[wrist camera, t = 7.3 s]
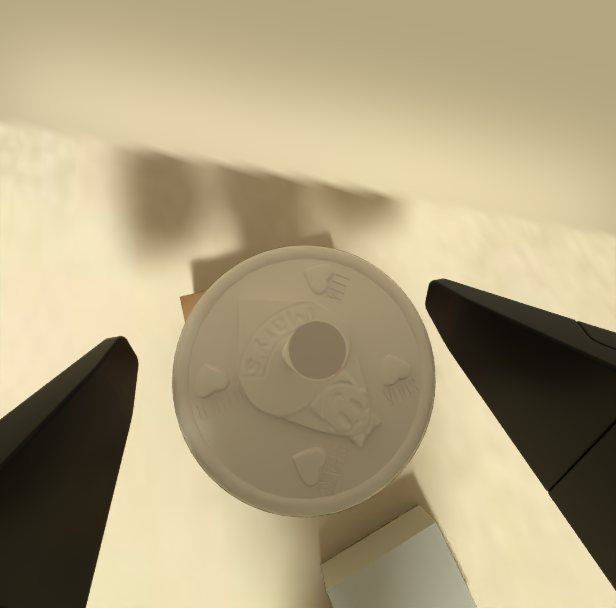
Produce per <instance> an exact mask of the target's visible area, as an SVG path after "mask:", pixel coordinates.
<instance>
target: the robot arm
mask: <svg viewBox="0 0 616 608" xmlns="http://www.w3.org/2000/svg"><path fill="white" fill-rule="evenodd" d="M425 306H426V310H427V312H428V313H429V315H430V317H431V319H432V321H433V323H434V324H435V326H436V328H437V330H438V332H439V334H440V336H441V337H442V339H443V341H444V343H445V344H446V346H447V348H448V349H449V351H450V352H451V354H452V355H453V357H454V358H455V360H456V361H457V363H458V364H459V366H460V367H461V368H462V370H463V371H464V373H465V374H466V376H467V377H468V378H469V380H470V381H471V383H472V384H473V386H474V387H475V389H476V390H477V391H478V393H479V394H480V396H481V397H482V399H483V400H484V401H485V403H486V404H487V406H488V407H489V409H490V410H491V412H492V413H493V414H494V416H495V417H496V419H497V420H498V422H499V423H500V424H501V426H502V427H503V429H504V430H505V432H506V433H507V435H508V436H509V437H510V439H511V440H512V442H513V443H514V445H515V446H516V448H517V449H518V450H519V452H520V453H521V455H522V456H523V458H524V459H525V460H526V462H527V463H528V465H529V466H530V468H531V469H532V471H533V472H534V473H535V475H536V476H537V478H538V479H539V481H540V482H541V483H542V485H543V486H544V488H545V489H546V491H548V494H549V495H550V497H551V498H552V500H553V501H554V502H555V504H556V505H557V507H558V508H559V510H560V511H561V513H562V514H563V515H564V517H565V518H566V520H567V521H568V523H569V524H570V525H571V527H572V528H573V530H574V531H575V533H576V534H577V536H578V537H579V538H580V540H581V541H582V543H583V544H584V546H585V547H586V548H587V550H588V551H589V553H590V554H591V556H592V557H593V559H594V560H595V561H596V563H597V564H598V566H599V567H600V569H601V570H602V572H603V573H604V574H605V576H606V577H607V579H608V580H609V582H610V583H611V584H612V586H613V587H614V589H615V590H616V333H615V332H612V331H609V330H605V329H602V328H599V327H596V326H592V325H589V324H586V323H583V322H580V321H577V322H576V321H575V320H573V319H570V318H567V317H564V316H561V315H558V314H555V313H551V312H548V311H545V310H542V309H539V308H536V307H532V306H529V305H526V304H523V303H520V302H517V301H514V300H510V299H507V298H504V297H501V296H498V295H495V294H492V293H488V292H485V291H482V290H479V289H476V288H473V287H470V286H466V285H463V284H460V283H457V282H454V281H451V280H447V279H438V280H433V281H431V282H430V283H429V286H428V291H427V296H426V301H425ZM137 373H138V358H137V356H136V354H135V352H134V351H133V349H132V347H131V346H130V344H129V342H128V341H127V339H126V338H125V337H123V336H118V337H112V338H107V339H105V340H104V341H102V342H101V343H100V344H98V345H97V346H96V347H95V348H93V349H92V350H91V351H89V352H88V353H87V354H85V355H84V356H83V357H81V358H80V359H79V360H77V361H76V362H75V363H74V364H72V365H71V366H70V367H68V368H67V369H66V370H64V371H63V372H62V373H60V374H59V375H58V376H57V377H55V378H54V379H53V380H51V381H50V382H49V383H47V384H46V385H45V386H43V387H42V388H41V389H39V390H38V391H37V392H36V393H34V394H33V395H32V396H30V397H29V398H28V399H26V400H25V401H24V402H22V403H21V404H20V405H19V406H17V407H16V408H15V409H13V410H12V411H11V412H9V413H8V414H7V415H5V416H4V417H3V418H1V419H0V608H86V605H87V601H88V596H89V592H90V588H91V584H92V580H93V576H94V572H95V568H96V563H97V559H98V555H99V551H100V547H101V543H102V539H103V535H104V531H105V526H106V522H107V518H108V514H109V510H110V506H111V502H112V498H113V493H114V489H115V485H116V481H117V477H118V473H119V469H120V465H121V461H122V456H123V452H124V448H125V444H126V440H127V436H128V432H129V428H130V423H131V419H132V414H133V407H134V399H135V390H136V382H137Z"/></svg>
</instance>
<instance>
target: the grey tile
mask: <svg viewBox="0 0 616 608" xmlns="http://www.w3.org/2000/svg"><path fill="white" fill-rule="evenodd" d="M321 567H322V572H323V577H324V582H325V587H326V592H327V594H328V596H329V599H330V601H331V604H332V606H333V608H477V606H476V604H475V602H474V600H473V598H472V596H471V594H470V592H469V589H468V587H467V585H466V583H465V581H464V579H463V577H462V575H461V573H460V571H459V569H458V567H457V565H456V562H455V560H454V558H453V556H452V554H451V552H450V550H449V548H448V546H447V544H446V542H445V540H444V538H443V535H442V533H441V531H440V529H439V527H438V525H437V523H436V521H435V520H434V519H433V518H432V517H431V516H430V515H429V514H428V513H427V512H426V511H425V510H424V509H423V508H422V507H421V506H420V504H419V505H417V506H416V507H414V508H413V509H411V510H409V511H408V512H406V513H404V514H403V515H401V516H399V517H398V518H396V519H395V520H393V521H391V522H390V523H388V524H386V525H385V526H383V527H382V528H380V529H378V530H377V531H375V532H373V533H372V534H370V535H369V536H367V537H365V538H364V539H362V540H360V541H359V542H357V543H355V544H354V545H352V546H351V547H349V548H347V549H346V550H344V551H342V552H341V553H339V554H338V555H336V556H334V557H333V558H331V559H329V560H328V561H326V562H325V563H323V564H321Z"/></svg>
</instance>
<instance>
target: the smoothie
mask: <svg viewBox="0 0 616 608" xmlns="http://www.w3.org/2000/svg"><path fill="white" fill-rule="evenodd" d="M435 383H436V382H435V365H434V357H433V352H432V347H431V343H430V340H429V337H428V334H427V331H426V329H425V326H424V324H423V321H422V319H421V318H420V316H419V314H418V312H417V310H416V309H415V307H414V305H413V304H412V302H411V301H410V299H409V298H408V297H407V296H406V294H405V293H404V292H403V290H402V289H401V288H400V287H399V286H398V285H397V284H396V283H395V282H394V281H393V280H392V279H391V278H389V277H388V276H387V275H386V274H385V273H383V272H382V271H381V270H379V269H378V268H377V267H375V266H374V265H372V264H370V263H369V262H367V261H365V260H363V259H361V258H359V257H357V256H355V255H352V254H349V253H347V252H344V251H340V250H337V249H333V248H328V247H322V246H311V245H298V246H288V247H282V248H277V249H273V250H269V251H266V252H262V253H260V254H257V255H255V256H253V257H250V258H248V259H246V260H244V261H243V262H241V263H239V264H237V265H236V266H234V267H233V268H231V269H230V270H228V271H227V272H226V273H225V274H223V275H222V276H221V277H220V278H218V279H217V280H216V281H215V282H214V283H213V284H212V285H211V286H210V287H209V288H208V290H207V291H206V292H205V293H204V294H203V295H202V297H201V298H200V299H199V301H198V302H197V304H196V305H195V306H194V308H193V310H192V312H191V313H190V315H189V317H188V319H187V321H186V323H185V325H184V327H183V330H182V332H181V335H180V338H179V341H178V344H177V348H176V353H175V357H174V365H173V377H172V388H173V400H174V406H175V412H176V416H177V420H178V423H179V427H180V429H181V432H182V434H183V437H184V439H185V441H186V443H187V445H188V447H189V449H190V451H191V453H192V454H193V456H194V457H195V459H196V460H197V462H198V463H199V465H200V466H201V467H202V468H203V470H204V471H205V472H206V473H207V474H208V476H209V477H210V478H212V479H213V480H214V481H215V482H216V483H217V484H218V485H219V486H220V487H221V488H223V489H224V490H225V491H226V492H228V493H229V494H230V495H232V496H234V497H235V498H237V499H239V500H240V501H242V502H244V503H246V504H248V505H250V506H252V507H254V508H257V509H260V510H263V511H266V512H269V513H274V514H278V515H283V516H292V517H314V516H323V515H328V514H332V513H337V512H340V511H343V510H346V509H349V508H351V507H354V506H356V505H358V504H360V503H362V502H364V501H366V500H368V499H369V498H371V497H373V496H374V495H376V494H377V493H378V492H380V491H381V490H382V489H384V488H385V487H386V486H387V485H389V484H390V483H391V482H392V481H393V480H394V479H395V478H396V477H397V476H398V475H399V474H400V473H401V471H402V470H403V469H404V468H405V467H406V465H407V464H408V463H409V461H410V460H411V459H412V457H413V456H414V454H415V452H416V450H417V449H418V447H419V445H420V443H421V441H422V439H423V437H424V435H425V432H426V429H427V427H428V424H429V421H430V417H431V413H432V409H433V403H434V397H435Z"/></svg>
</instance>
